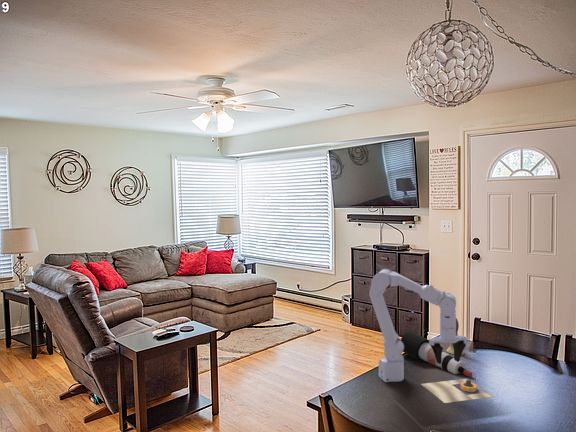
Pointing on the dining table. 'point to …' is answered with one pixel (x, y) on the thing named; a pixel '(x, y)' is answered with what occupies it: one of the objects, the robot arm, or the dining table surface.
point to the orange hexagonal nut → (468, 389)
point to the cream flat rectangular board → (453, 391)
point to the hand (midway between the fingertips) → (447, 361)
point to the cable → (431, 354)
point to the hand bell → (451, 348)
